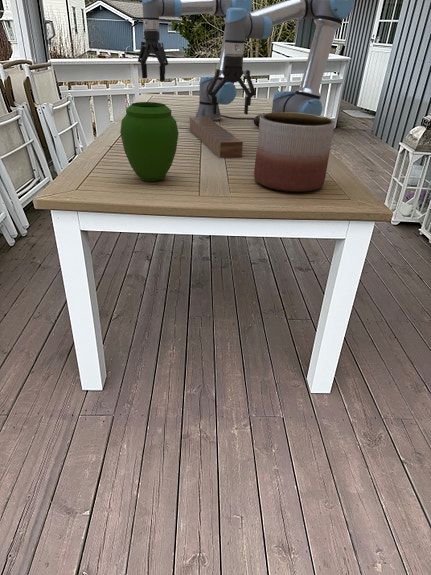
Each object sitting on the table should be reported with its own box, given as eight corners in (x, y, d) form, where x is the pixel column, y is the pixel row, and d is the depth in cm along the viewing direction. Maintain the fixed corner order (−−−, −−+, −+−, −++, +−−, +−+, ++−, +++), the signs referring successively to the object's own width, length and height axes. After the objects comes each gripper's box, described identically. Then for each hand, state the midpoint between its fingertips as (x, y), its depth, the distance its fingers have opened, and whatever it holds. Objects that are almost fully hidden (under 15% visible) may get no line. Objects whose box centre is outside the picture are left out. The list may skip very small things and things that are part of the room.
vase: (131, 189, 135) (125, 110, 122) (118, 172, 150) (112, 100, 137) (186, 184, 142) (187, 109, 129) (169, 168, 157) (167, 99, 144)
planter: (334, 194, 140) (348, 126, 129) (263, 195, 136) (271, 125, 125) (308, 172, 162) (318, 112, 150) (246, 172, 157) (251, 111, 146)
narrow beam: (189, 129, 221) (189, 117, 217) (207, 129, 223) (207, 117, 220) (219, 157, 175) (220, 142, 171) (241, 157, 177) (242, 141, 174)
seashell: (267, 127, 236) (269, 112, 232) (270, 129, 231) (271, 114, 227) (251, 126, 235) (253, 111, 230) (253, 128, 230) (255, 113, 226)
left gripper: (129, 29, 201) (132, 77, 213) (163, 31, 188) (164, 82, 199) (140, 29, 206) (143, 76, 218) (175, 31, 193) (175, 81, 204)
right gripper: (204, 55, 154) (202, 115, 165) (267, 57, 159) (261, 115, 171) (200, 53, 160) (199, 111, 171) (260, 56, 165) (255, 112, 177)
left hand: (153, 79), depth 208 cm, fingers open, 13 cm apart
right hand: (230, 113), depth 171 cm, fingers open, 13 cm apart
